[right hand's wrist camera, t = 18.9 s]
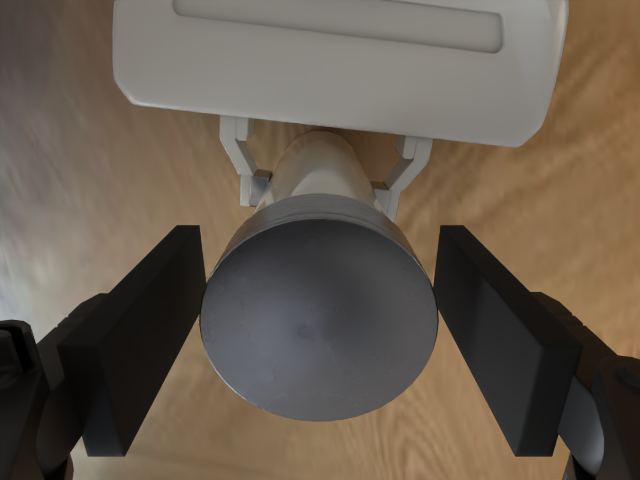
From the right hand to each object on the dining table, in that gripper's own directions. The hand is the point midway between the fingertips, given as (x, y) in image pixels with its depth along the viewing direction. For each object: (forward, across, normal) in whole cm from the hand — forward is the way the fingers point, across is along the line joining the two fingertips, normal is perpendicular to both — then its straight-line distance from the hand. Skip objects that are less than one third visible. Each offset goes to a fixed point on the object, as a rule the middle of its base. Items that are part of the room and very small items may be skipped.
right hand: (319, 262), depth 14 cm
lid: (-4, 0, 0) cm, 4 cm away
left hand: (+9, 0, -1) cm, 9 cm away
